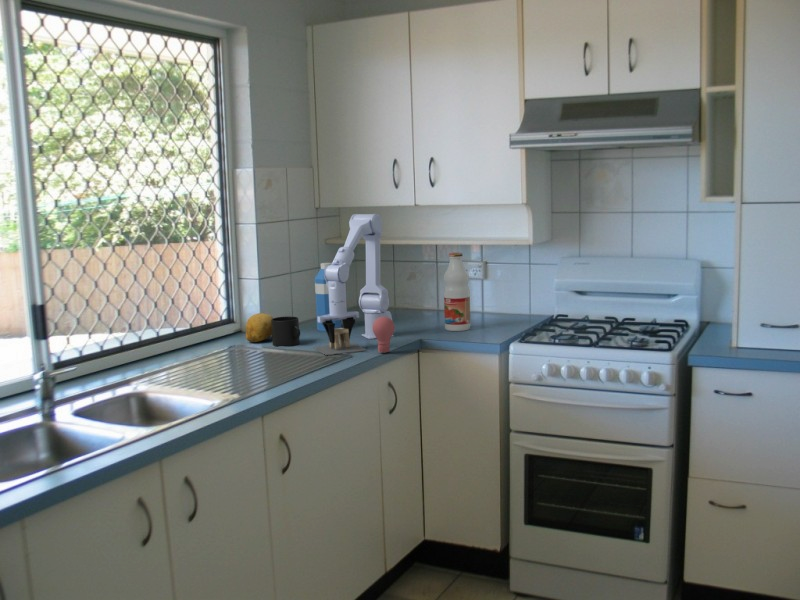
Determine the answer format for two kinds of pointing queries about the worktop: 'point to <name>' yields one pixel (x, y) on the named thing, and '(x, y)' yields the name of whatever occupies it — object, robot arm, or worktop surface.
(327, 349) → the mat
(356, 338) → the worktop surface
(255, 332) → the potato
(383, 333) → the light bulb
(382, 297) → the robot arm
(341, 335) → the stool
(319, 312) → the water bottle
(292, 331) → the mug
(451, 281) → the fruit juice
